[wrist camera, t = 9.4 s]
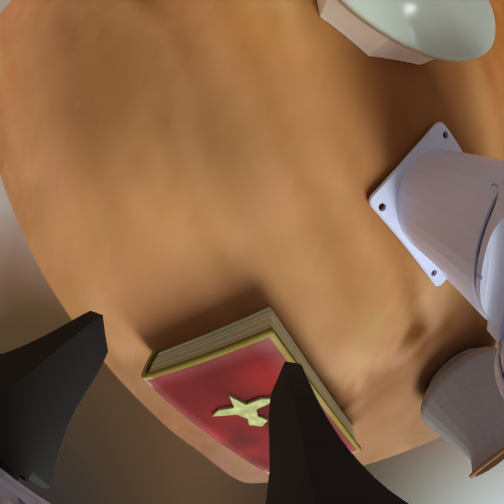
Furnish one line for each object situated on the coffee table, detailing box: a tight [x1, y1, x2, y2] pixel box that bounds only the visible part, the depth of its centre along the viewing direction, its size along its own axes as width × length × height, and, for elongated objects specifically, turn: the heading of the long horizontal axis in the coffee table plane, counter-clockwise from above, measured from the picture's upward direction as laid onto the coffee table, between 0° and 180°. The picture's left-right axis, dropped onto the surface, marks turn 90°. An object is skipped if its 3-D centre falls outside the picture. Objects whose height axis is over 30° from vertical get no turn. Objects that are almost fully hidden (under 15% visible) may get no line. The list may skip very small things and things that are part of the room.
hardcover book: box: [142, 306, 361, 474], centre depth 22 cm, size 12×21×4 cm, turn 31°
